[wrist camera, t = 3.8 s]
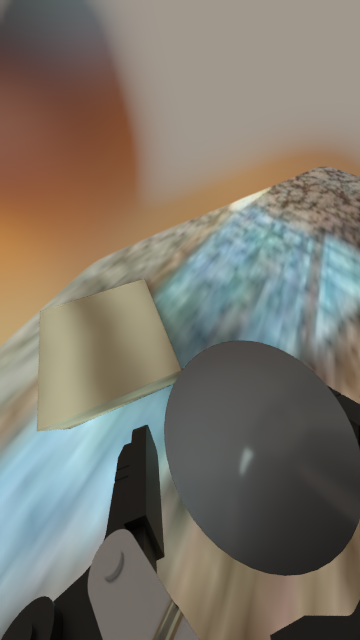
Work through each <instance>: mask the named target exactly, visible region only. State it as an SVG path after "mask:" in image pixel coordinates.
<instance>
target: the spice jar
mask: <svg viewBox="0 0 360 640" xmlns="http://www.w3.org/2000/svg"><path fill="white" fill-rule="evenodd" d="M164 434H165V447H166V455H167V460H168V464H169V468H170V472H171V475H172V478H173V481H174V484H175V486H176V489H177V491H178V493H179V495H180V497H181V499H182V501H183V503H184V505H185V507H186V508H187V510H188V512H189V513H190V515H191V516H192V518H193V520H194V521H195V522H196V523H197V525H198V526H199V527H200V528H201V530H202V531H203V532H204V533H205V535H207V536H208V537H209V538H210V539H211V540H212V541H213V542H214V543H215V544H216V545H217V546H218V547H219V548H220V549H221V550H223V551H224V552H226V553H227V554H228V555H230V556H231V557H232V558H234V559H235V560H237V561H239V562H241V563H243V564H245V565H247V566H248V567H250V568H253V569H256V570H259V571H262V572H265V573H269V574H276V575H284V576H287V575H301V574H305V573H308V572H311V571H315V570H318V569H319V568H321V567H323V566H324V565H326V564H328V563H330V562H331V561H332V560H333V559H334V558H335V557H337V556H338V555H339V554H340V553H341V552H342V551H343V550H344V548H345V547H346V545H347V544H348V542H349V541H350V540H351V538H352V536H353V534H354V532H355V530H356V527H357V525H358V523H359V519H360V449H359V446H358V442H357V439H356V436H355V434H354V431H353V428H352V426H351V424H350V422H349V420H348V418H347V415H346V413H345V412H344V410H343V408H342V407H341V405H340V403H339V402H338V400H337V399H336V397H335V396H334V395H333V393H332V392H331V391H330V389H329V388H328V387H327V386H326V385H325V383H324V382H323V381H322V380H321V379H320V378H319V377H318V376H317V375H316V374H315V373H314V372H313V371H312V370H311V369H310V368H308V367H307V366H306V365H304V364H303V363H302V362H301V361H299V360H298V359H296V358H294V357H293V356H291V355H290V354H288V353H286V352H284V351H282V350H280V349H278V348H275V347H272V346H270V345H266V344H263V343H259V342H253V341H230V342H225V343H220V344H217V345H215V346H212V347H210V348H208V349H206V350H204V351H203V352H201V353H200V354H198V355H197V356H195V357H194V358H193V359H192V360H191V361H190V362H189V363H188V364H187V365H186V366H185V368H184V369H183V370H182V372H181V373H180V375H179V376H178V378H177V380H176V382H175V384H174V386H173V388H172V390H171V393H170V396H169V399H168V404H167V408H166V414H165V424H164Z"/></svg>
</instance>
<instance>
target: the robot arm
mask: <svg viewBox="0 0 360 640" xmlns="http://www.w3.org/2000/svg"><path fill="white" fill-rule="evenodd" d="M326 386H327V385H326ZM327 387H328V388H329V389H330V391H331V392H332V393H333V395H334V396H335V397H336V399H337V400H338V402H339V403H340V405H341V407H342V408H343V410H344V412H345V413H346V415H347V418H348V420H349V422H350V424H351V426H352V428H353V431H354V434H355V436H356V439H357V442H358V446H359V449H360V404H358V403H356V402H355V401H353V400H351V399H349V398H348V397H346V396H344V395H341V393H339V392H337V391H335V390H332V388H330V387H329V386H327ZM116 470H117V472H116V475H115V483H114V487H113V494H112V500H111V506H110V512H109V518H108V525H107V530H106V535H105V538H104V542H103V543H102V544H101V546H100V547H99V549H98V551H97V552H96V555H95V557H94V559H93V562H92V564H91V566H90V567H89V568H88V569H87V570H86V572H85V573H84V574H83V575H82V576H81V577H80V578H79V579H77V580H76V581H75V582H74V583H73V584H72V585H71V586H70V587H69V588H68V589H67V590H65V591H64V592H63V593H62V594H61V595H60V596H59V597H58V598H57V599H56V600H54V601H52V600H51V599H50V598H49V597H46V596H44V597H40V598H37V599H35V600H34V601H32V602H31V603H30V604H29V605H27V606H26V607H25V608H24V609H23V610H22V611H21V612H20V614H19V615H18V616H17V617H16V618H15V620H14V621H13V622H12V624H11V625H10V626H9V628H8V629H7V631H6V633H5V634H4V636H3V637H2V639H1V640H199V639H198V637H197V635H196V634H195V632H194V631H193V629H192V627H191V626H190V624H189V623H188V621H187V619H186V618H185V616H184V615H183V613H182V612H181V610H180V609H179V607H178V606H177V605H176V604H175V603H174V601H173V600H172V598H171V597H170V595H169V593H168V592H167V590H166V589H165V587H164V585H163V584H162V582H161V580H160V579H159V577H158V576H157V566H156V561H157V560H159V559H161V558H163V557H164V543H163V528H162V512H161V497H160V481H159V466H158V455H157V450H156V446H155V443H154V441H153V438H152V435H151V432H150V430H149V427H148V425H145V426H142V427H139V428H137V429H134V430H133V432H132V441H131V443H129V444H126V445H124V447H123V449H122V451H121V453H120V455H119V457H118V463H117V469H116ZM270 638H271V640H360V601H359V603H358V605H357V607H356V609H355V610H354V612H353V613H352V614H351V615H350V616H303V617H302V618H300V619H298V620H296V621H295V622H293V623H291V624H289V625H288V626H286V627H284V628H282V629H281V630H279V631H277V632H275V633H274V634H272V635H270Z"/></svg>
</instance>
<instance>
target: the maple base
mask: <svg viewBox="0 0 360 640" xmlns="http://www.w3.org/2000/svg"><path fill="white" fill-rule="evenodd" d="M181 372H182V370H181V367H180V365H179V362H178V360H177V357H176V355H175V353H174V350H173V348H172V345H171V343H170V340H169V338H168V335H167V333H166V331H165V328H164V326H163V323H162V321H161V318H160V316H159V314H158V311H157V309H156V306H155V304H154V301H153V299H152V297H151V294H150V292H149V289H148V287H147V284H146V282H145V280H144V279H141V280H138V281H135V282H132V283H129V284H125V285H122V286H119V287H116V288H113V289H109V290H106V291H103V292H100V293H97V294H94V295H90V296H87V297H84V298H81V299H78V300H74V301H71V302H68V303H65V304H62V305H59V306H55V307H52V308H49V309H46V310H43V311H40V331H39V369H38V408H37V431H47V430H62V429H71V428H73V427H75V426H78V425H80V424H82V423H85V422H87V421H89V420H91V419H94V418H96V417H98V416H101V415H103V414H105V413H108V412H110V411H112V410H115V409H117V408H119V407H121V406H124V405H126V404H128V403H131V402H133V401H135V400H138V399H140V398H142V397H145V396H147V395H149V394H151V393H154V392H156V391H158V390H161V389H163V388H165V387H168V386H170V385H172V384H175V382H176V380H177V378H178V376H179V375H180V373H181Z"/></svg>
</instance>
